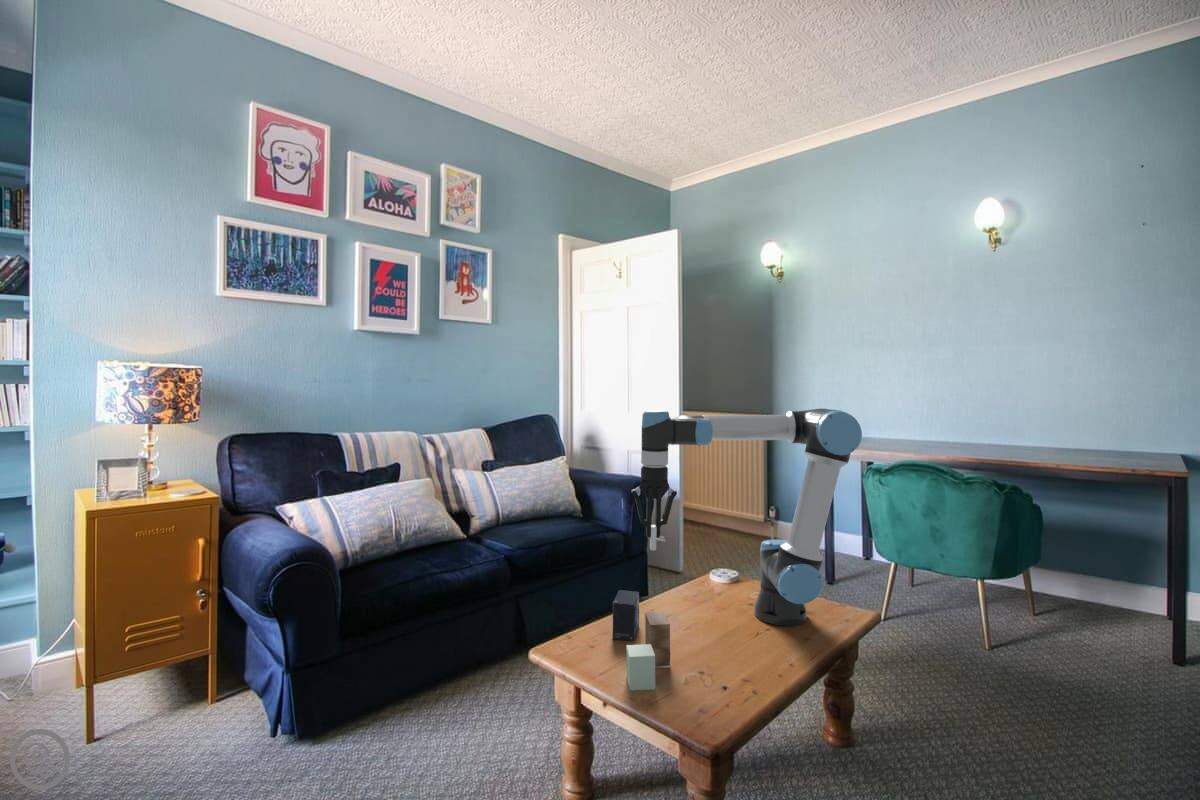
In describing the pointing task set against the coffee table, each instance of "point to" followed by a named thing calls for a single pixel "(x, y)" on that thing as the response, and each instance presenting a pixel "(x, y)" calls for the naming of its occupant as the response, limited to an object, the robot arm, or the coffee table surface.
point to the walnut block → (658, 637)
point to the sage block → (640, 667)
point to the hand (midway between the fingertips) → (652, 548)
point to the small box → (625, 615)
